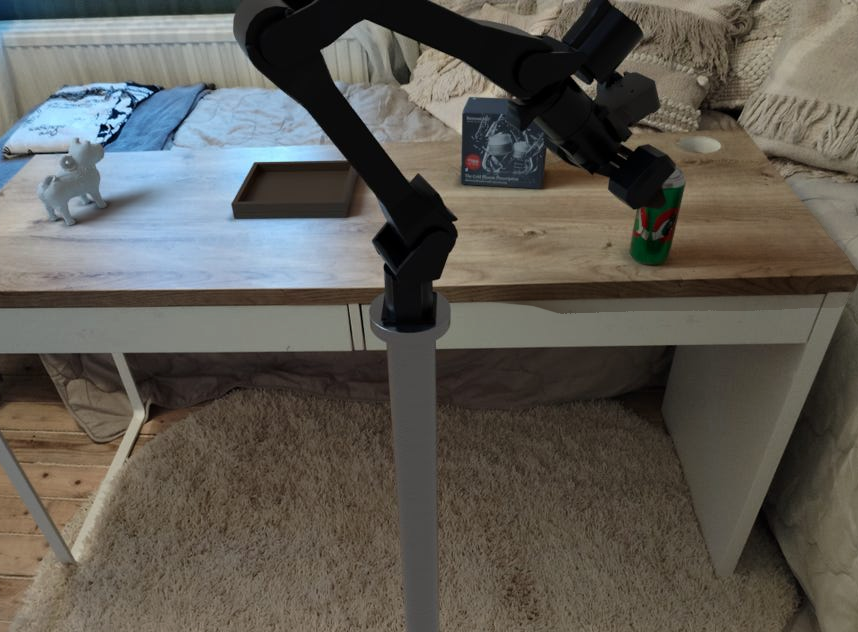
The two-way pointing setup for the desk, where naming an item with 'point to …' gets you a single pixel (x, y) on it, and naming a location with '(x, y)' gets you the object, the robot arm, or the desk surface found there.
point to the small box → (499, 147)
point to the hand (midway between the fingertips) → (639, 190)
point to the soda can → (658, 224)
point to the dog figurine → (73, 180)
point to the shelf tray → (296, 190)
